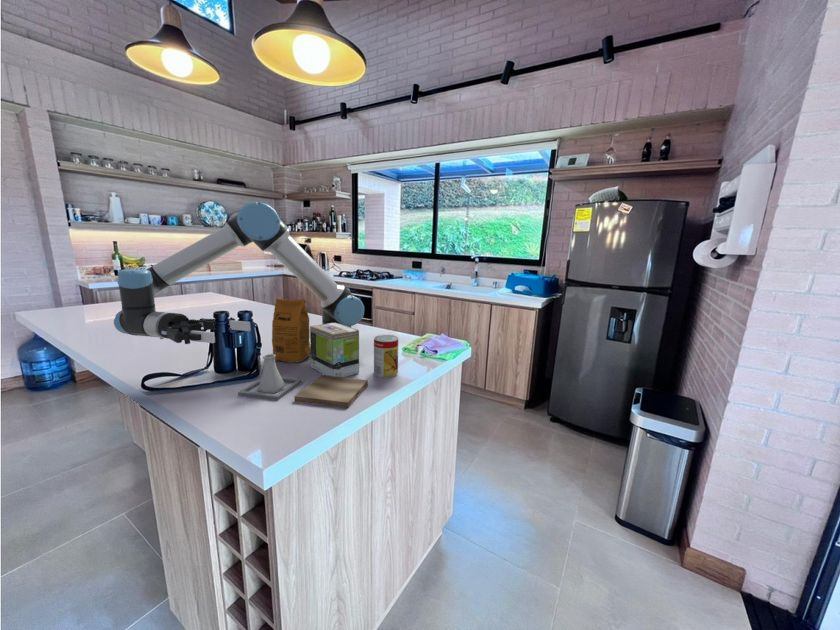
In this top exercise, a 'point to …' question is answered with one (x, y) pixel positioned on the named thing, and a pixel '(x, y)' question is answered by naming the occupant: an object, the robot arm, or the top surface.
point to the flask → (270, 376)
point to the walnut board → (332, 391)
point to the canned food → (385, 355)
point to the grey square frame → (269, 396)
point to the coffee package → (290, 330)
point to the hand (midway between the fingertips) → (233, 331)
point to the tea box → (334, 349)
